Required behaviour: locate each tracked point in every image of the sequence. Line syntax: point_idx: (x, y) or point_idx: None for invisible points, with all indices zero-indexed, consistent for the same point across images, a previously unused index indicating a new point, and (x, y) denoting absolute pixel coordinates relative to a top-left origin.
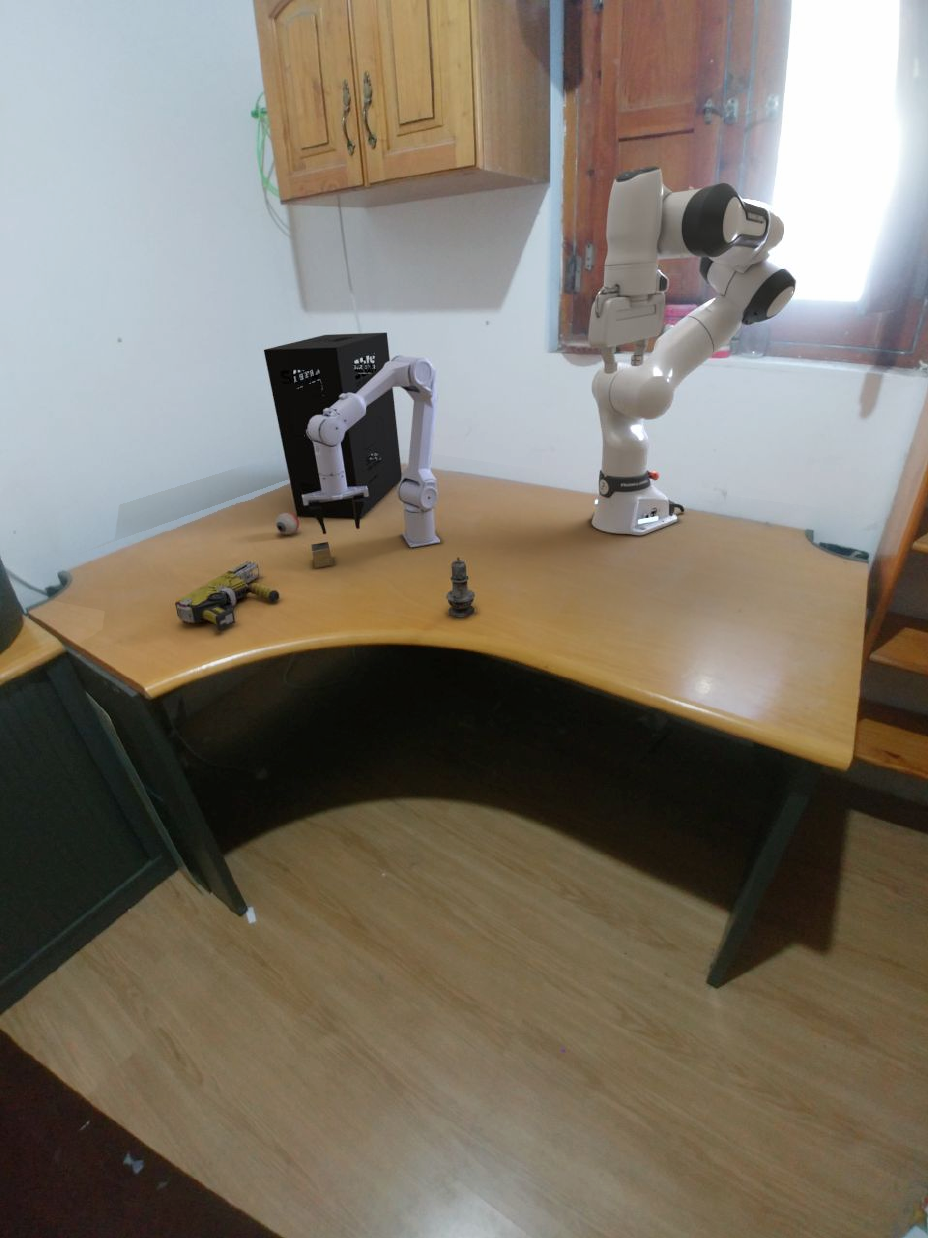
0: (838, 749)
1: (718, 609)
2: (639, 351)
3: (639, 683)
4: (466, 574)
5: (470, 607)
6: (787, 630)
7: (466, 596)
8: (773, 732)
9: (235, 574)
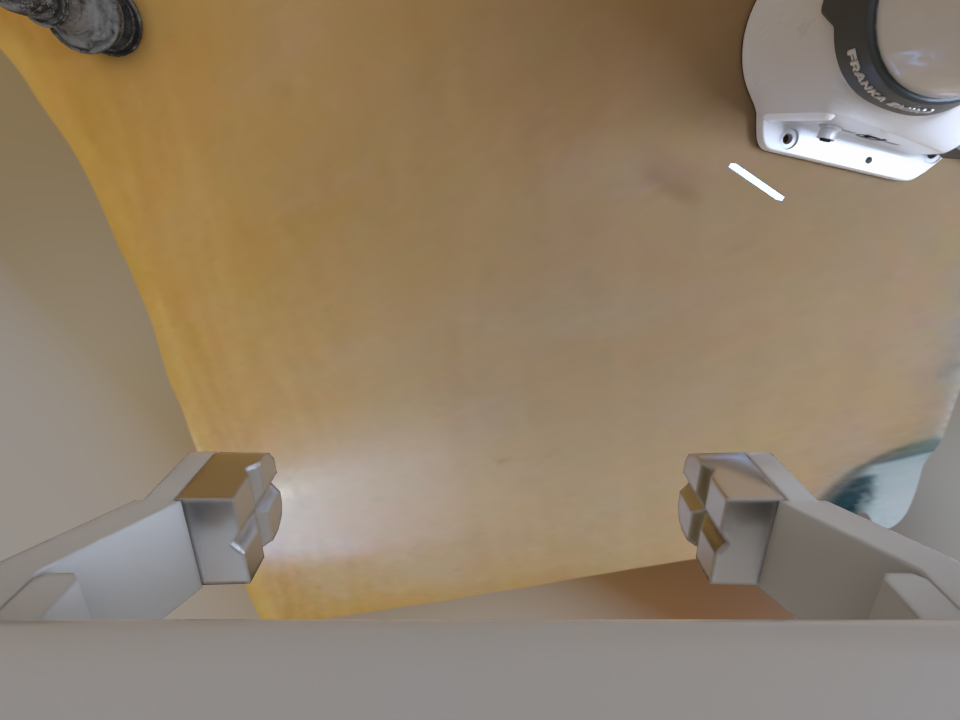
0: None
1: (486, 435)
2: (806, 577)
3: (207, 435)
4: (51, 13)
5: (127, 35)
6: (485, 527)
7: (78, 38)
8: None
9: None
